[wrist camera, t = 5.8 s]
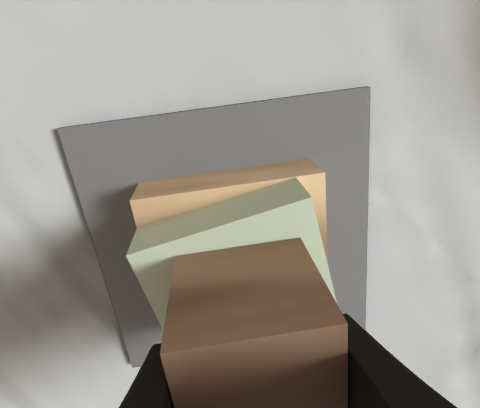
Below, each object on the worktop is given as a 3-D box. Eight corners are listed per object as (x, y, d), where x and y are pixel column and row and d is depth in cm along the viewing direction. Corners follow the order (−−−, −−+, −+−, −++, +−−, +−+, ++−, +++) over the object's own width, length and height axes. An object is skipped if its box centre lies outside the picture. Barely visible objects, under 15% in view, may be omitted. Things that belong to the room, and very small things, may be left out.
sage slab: (328, 306, 15) (346, 340, 13) (193, 347, 15) (191, 387, 13) (295, 177, 13) (311, 197, 11) (137, 227, 13) (125, 255, 11)
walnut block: (306, 335, 13) (348, 447, 9) (195, 353, 13) (192, 475, 9) (300, 237, 11) (347, 323, 8) (174, 256, 11) (160, 354, 7)
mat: (362, 325, 18) (365, 329, 18) (133, 363, 18) (132, 367, 18) (367, 86, 14) (370, 86, 14) (59, 127, 13) (56, 128, 13)
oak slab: (316, 297, 17) (329, 326, 15) (172, 320, 17) (168, 352, 15) (309, 158, 14) (325, 172, 13) (139, 182, 14) (129, 200, 12)
